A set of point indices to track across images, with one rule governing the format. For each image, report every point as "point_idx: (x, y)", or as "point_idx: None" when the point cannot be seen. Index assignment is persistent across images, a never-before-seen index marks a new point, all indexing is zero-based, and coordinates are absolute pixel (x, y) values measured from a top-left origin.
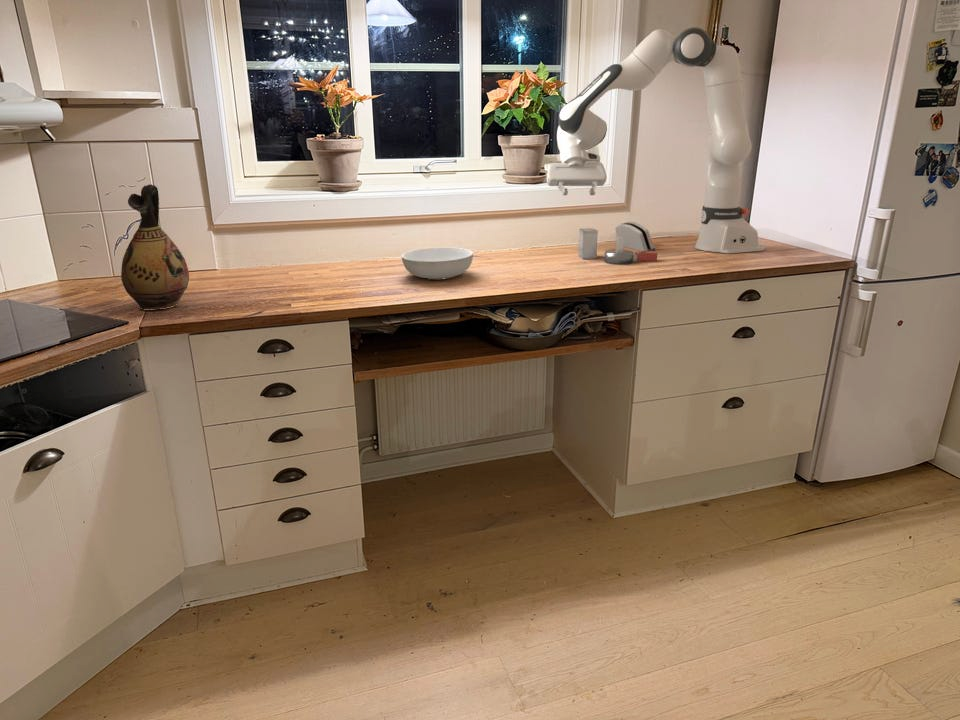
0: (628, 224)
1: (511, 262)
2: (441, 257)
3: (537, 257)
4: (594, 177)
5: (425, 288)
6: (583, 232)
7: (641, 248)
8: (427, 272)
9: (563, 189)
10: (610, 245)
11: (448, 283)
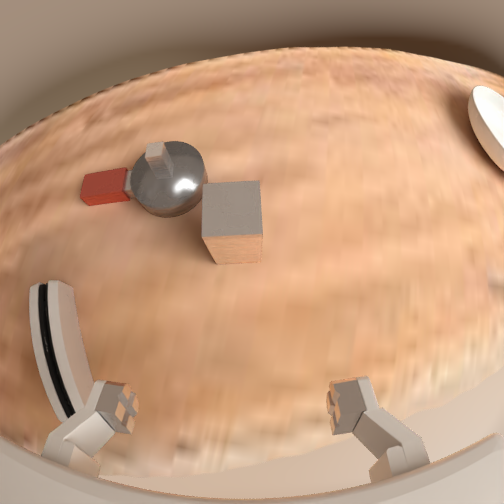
0: (51, 364)
1: (430, 212)
2: None
3: (378, 260)
4: (37, 473)
5: None
6: (257, 183)
7: (72, 296)
8: (494, 106)
9: (374, 397)
10: None
11: None
